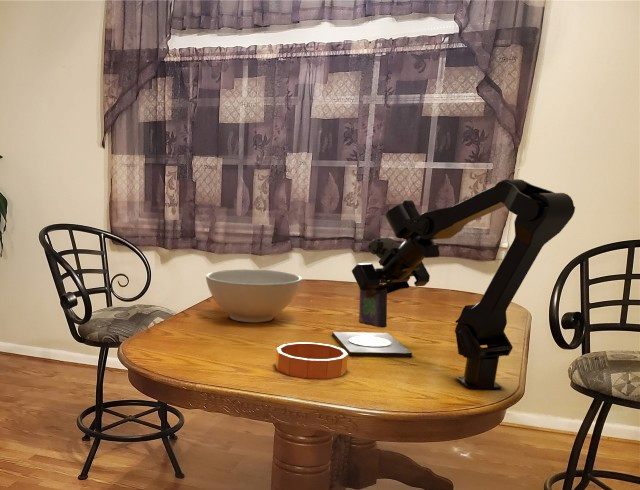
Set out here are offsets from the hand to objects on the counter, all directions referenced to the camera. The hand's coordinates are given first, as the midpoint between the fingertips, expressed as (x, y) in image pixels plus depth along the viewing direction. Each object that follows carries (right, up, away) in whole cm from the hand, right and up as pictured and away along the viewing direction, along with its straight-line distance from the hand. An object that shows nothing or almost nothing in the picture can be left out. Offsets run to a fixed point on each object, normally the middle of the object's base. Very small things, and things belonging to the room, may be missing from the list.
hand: (371, 296), depth 166 cm
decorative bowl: (-23, -2, +33) cm, 40 cm away
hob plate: (0, -12, +3) cm, 12 cm away
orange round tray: (-19, -18, -16) cm, 31 cm away
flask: (+1, -7, +1) cm, 7 cm away
